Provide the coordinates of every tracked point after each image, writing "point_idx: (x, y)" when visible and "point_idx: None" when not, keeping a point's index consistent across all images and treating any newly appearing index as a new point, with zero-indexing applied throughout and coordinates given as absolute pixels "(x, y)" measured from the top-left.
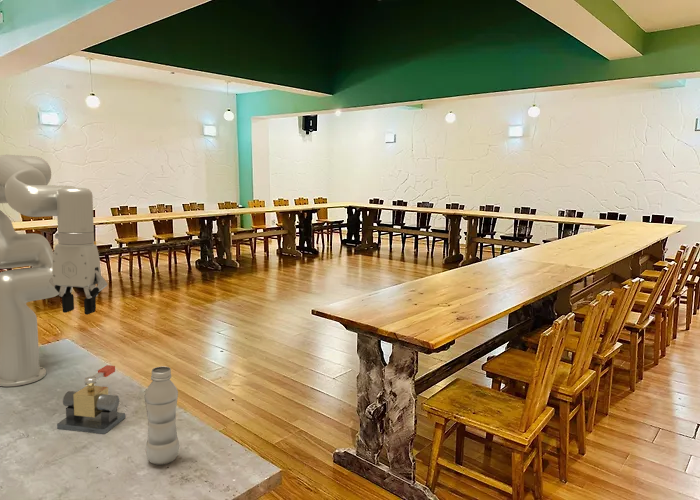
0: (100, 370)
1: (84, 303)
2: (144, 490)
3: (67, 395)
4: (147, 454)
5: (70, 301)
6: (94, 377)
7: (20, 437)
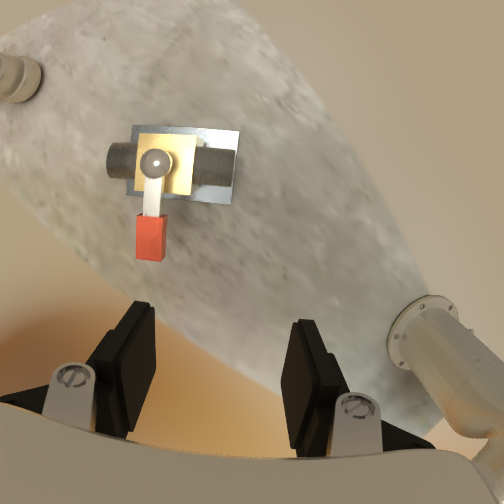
0: (155, 219)
1: (128, 342)
2: (36, 23)
3: (226, 155)
4: (32, 59)
5: (293, 400)
6: (145, 169)
7: (289, 96)
